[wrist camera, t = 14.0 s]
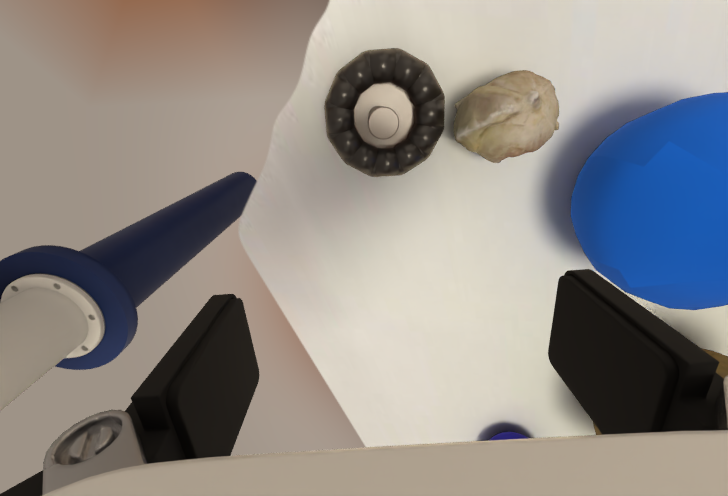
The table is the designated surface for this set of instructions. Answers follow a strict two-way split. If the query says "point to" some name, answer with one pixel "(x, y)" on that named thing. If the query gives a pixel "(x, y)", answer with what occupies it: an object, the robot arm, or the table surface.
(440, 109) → the ring
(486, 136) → the beige rounded lump
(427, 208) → the table surface
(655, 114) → the vase
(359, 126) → the brown upright peg
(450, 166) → the table surface
